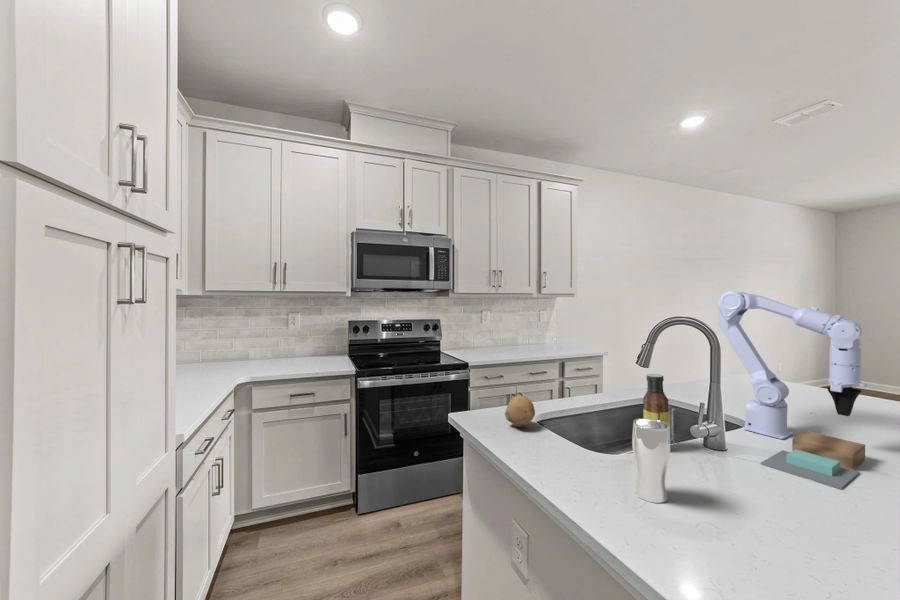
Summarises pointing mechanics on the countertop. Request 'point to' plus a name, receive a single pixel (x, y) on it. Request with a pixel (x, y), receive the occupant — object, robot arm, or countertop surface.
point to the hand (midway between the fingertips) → (843, 415)
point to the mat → (811, 471)
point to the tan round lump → (520, 411)
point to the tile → (813, 462)
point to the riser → (831, 448)
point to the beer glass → (651, 458)
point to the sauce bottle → (656, 400)
